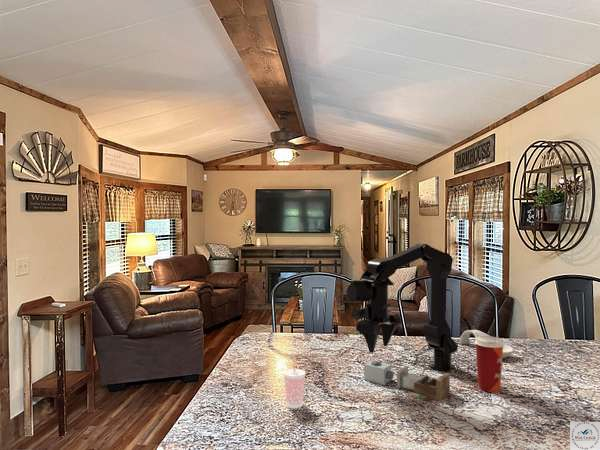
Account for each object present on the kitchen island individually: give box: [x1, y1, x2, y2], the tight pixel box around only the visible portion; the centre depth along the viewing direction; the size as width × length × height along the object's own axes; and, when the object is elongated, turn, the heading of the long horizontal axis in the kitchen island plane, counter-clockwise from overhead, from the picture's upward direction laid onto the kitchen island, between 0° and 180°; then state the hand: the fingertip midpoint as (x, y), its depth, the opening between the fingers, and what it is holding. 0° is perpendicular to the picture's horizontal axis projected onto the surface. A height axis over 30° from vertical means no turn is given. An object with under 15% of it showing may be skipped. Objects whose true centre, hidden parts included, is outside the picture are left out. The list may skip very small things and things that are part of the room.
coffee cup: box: [474, 335, 504, 393], centre depth 135 cm, size 8×8×15 cm
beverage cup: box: [283, 353, 306, 409], centre depth 123 cm, size 6×6×14 cm
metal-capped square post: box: [396, 366, 434, 391], centre depth 134 cm, size 7×10×5 cm
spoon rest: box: [458, 329, 514, 359], centre depth 172 cm, size 24×12×7 cm, turn 20°
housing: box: [407, 372, 451, 402], centre depth 131 cm, size 10×9×6 cm
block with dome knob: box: [363, 360, 395, 385], centre depth 142 cm, size 5×8×6 cm, turn 52°
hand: (378, 349), depth 142 cm, fingers open, 9 cm apart
